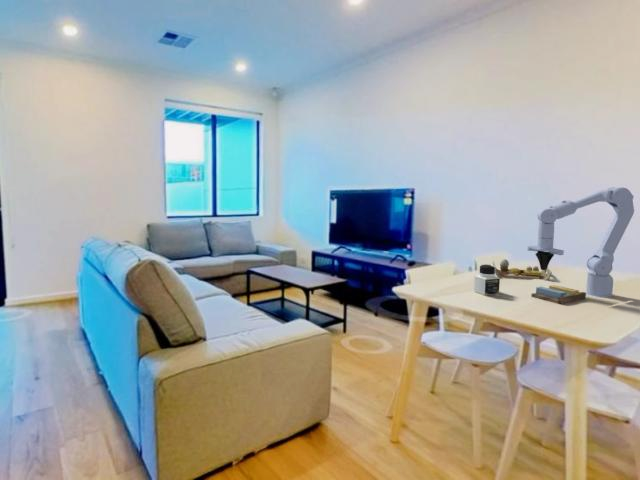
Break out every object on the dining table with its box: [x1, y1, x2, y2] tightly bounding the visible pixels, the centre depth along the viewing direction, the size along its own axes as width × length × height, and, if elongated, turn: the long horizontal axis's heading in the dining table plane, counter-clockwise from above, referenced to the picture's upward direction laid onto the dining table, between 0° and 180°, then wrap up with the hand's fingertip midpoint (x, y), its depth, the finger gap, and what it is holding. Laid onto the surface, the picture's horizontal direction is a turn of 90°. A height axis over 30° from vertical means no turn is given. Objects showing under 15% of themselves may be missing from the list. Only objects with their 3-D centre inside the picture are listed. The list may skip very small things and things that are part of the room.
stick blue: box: [535, 286, 566, 299], centre depth 154 cm, size 10×3×4 cm, turn 26°
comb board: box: [530, 291, 587, 305], centre depth 155 cm, size 12×15×3 cm
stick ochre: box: [548, 284, 580, 295], centre depth 157 cm, size 10×3×4 cm, turn 26°
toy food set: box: [492, 258, 553, 281], centre depth 197 cm, size 25×18×8 cm
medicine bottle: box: [473, 264, 501, 297], centre depth 165 cm, size 7×7×12 cm
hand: (543, 269), depth 165 cm, fingers closed
